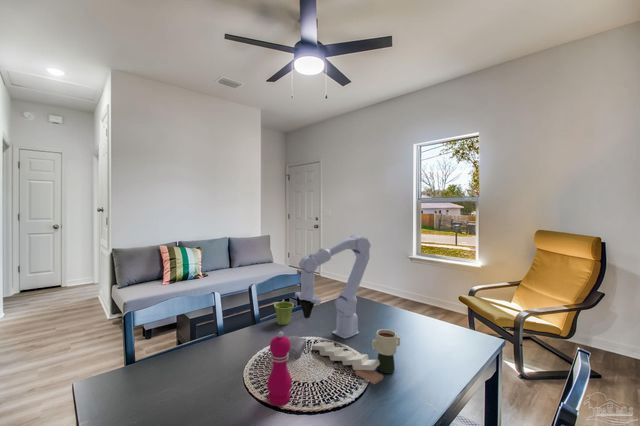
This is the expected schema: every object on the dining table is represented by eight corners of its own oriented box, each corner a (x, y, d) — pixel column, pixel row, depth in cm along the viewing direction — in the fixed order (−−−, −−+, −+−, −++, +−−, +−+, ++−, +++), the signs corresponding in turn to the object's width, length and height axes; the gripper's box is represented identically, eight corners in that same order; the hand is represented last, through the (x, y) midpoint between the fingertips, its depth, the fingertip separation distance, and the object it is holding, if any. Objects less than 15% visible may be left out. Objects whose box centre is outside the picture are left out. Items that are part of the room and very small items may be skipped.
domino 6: (364, 365, 105) (383, 375, 99) (364, 370, 105) (383, 380, 99) (355, 371, 101) (374, 381, 95) (355, 375, 101) (374, 386, 95)
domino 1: (320, 341, 121) (333, 342, 115) (321, 345, 120) (334, 346, 115) (311, 345, 118) (324, 346, 112) (312, 349, 117) (324, 350, 111)
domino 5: (359, 360, 107) (378, 359, 102) (360, 364, 107) (380, 364, 102) (352, 365, 103) (371, 364, 98) (353, 370, 103) (372, 370, 98)
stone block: (276, 361, 111) (301, 359, 110) (273, 348, 112) (299, 346, 110) (285, 347, 123) (308, 345, 122) (283, 336, 123) (306, 333, 122)
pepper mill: (267, 391, 91) (269, 326, 90) (291, 390, 91) (292, 326, 91) (265, 407, 84) (266, 337, 83) (291, 406, 84) (292, 337, 84)
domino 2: (328, 346, 117) (342, 347, 111) (329, 351, 116) (343, 351, 111) (319, 350, 113) (333, 351, 108) (320, 355, 113) (334, 356, 107)
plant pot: (297, 321, 144) (297, 304, 144) (284, 328, 136) (285, 309, 136) (282, 317, 149) (282, 300, 149) (269, 323, 141) (269, 305, 141)
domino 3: (337, 351, 113) (354, 351, 108) (338, 355, 113) (355, 355, 108) (329, 356, 110) (345, 356, 104) (330, 360, 109) (346, 360, 104)
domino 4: (348, 355, 110) (367, 354, 106) (350, 360, 110) (368, 358, 106) (341, 360, 106) (361, 359, 102) (343, 365, 106) (362, 364, 102)
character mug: (393, 362, 109) (394, 327, 109) (404, 373, 102) (405, 335, 102) (366, 366, 106) (367, 330, 105) (376, 378, 99) (377, 339, 99)
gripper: (289, 283, 127) (289, 314, 128) (311, 291, 116) (311, 325, 117) (302, 280, 132) (301, 311, 132) (324, 288, 121) (324, 320, 122)
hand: (307, 317), depth 125 cm, fingers closed
